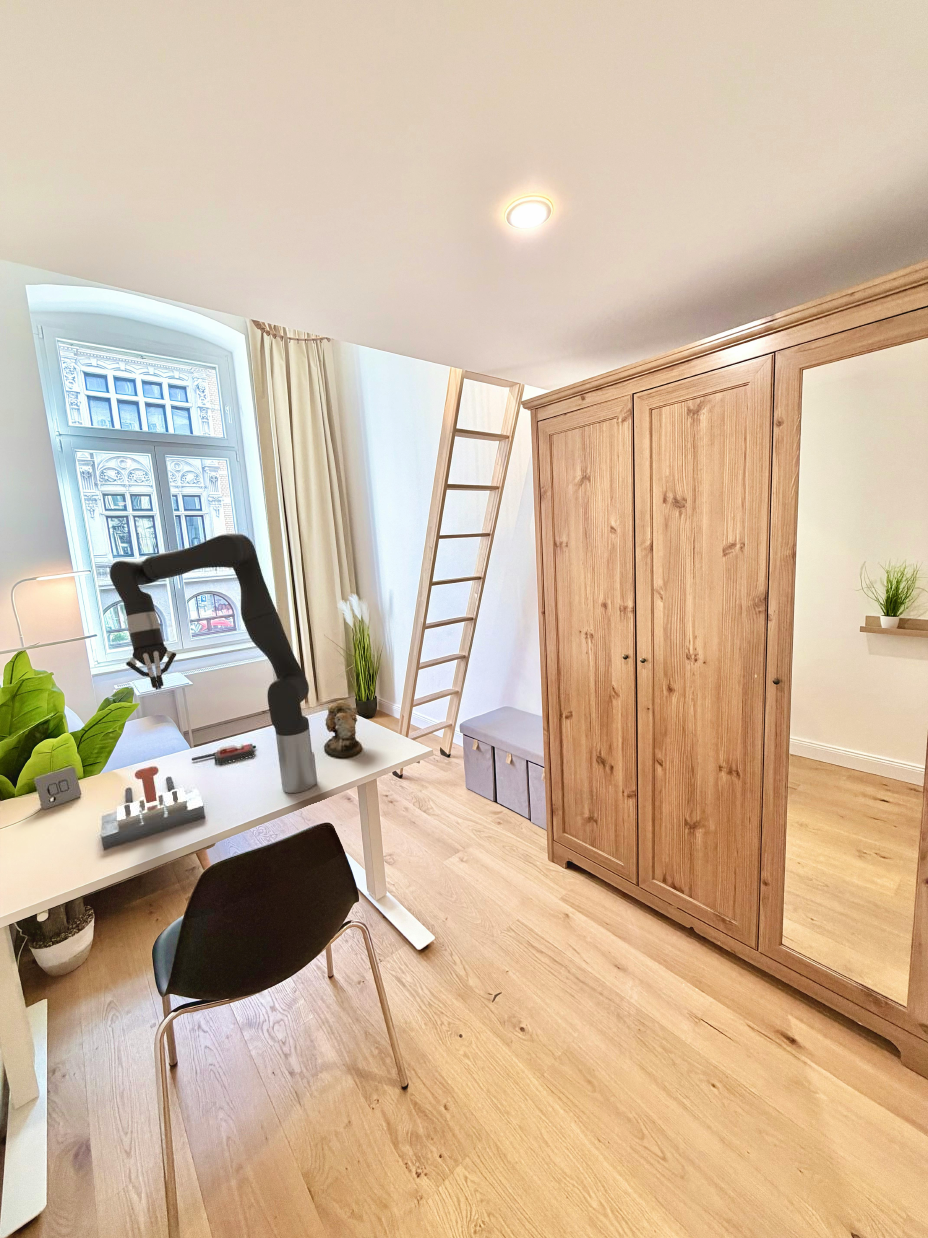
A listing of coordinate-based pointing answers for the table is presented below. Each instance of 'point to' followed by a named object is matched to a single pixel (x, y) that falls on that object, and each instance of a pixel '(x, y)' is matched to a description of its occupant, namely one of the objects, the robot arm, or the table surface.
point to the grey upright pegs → (129, 791)
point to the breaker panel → (151, 817)
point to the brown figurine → (342, 731)
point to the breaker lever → (148, 782)
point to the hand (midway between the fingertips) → (158, 689)
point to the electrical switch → (57, 787)
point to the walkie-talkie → (230, 753)
